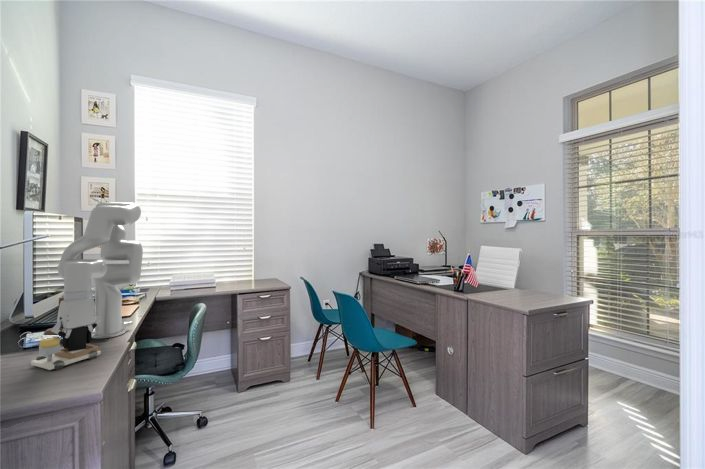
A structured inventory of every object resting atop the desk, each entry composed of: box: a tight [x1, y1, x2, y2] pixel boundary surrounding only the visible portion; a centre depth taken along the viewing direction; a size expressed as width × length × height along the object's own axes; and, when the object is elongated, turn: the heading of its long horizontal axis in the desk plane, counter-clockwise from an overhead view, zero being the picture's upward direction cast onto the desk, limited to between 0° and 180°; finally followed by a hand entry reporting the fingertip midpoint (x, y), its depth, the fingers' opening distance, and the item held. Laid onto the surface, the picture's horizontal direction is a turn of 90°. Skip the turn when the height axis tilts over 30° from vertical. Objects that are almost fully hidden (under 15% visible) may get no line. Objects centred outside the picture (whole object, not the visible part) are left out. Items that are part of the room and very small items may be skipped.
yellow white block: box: [38, 337, 62, 357], centre depth 108 cm, size 5×5×4 cm
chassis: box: [30, 343, 102, 371], centre depth 113 cm, size 15×11×5 cm
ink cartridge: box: [68, 326, 87, 351], centre depth 116 cm, size 5×2×8 cm, turn 130°
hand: (77, 345), depth 116 cm, fingers closed on ink cartridge, 5 cm apart
